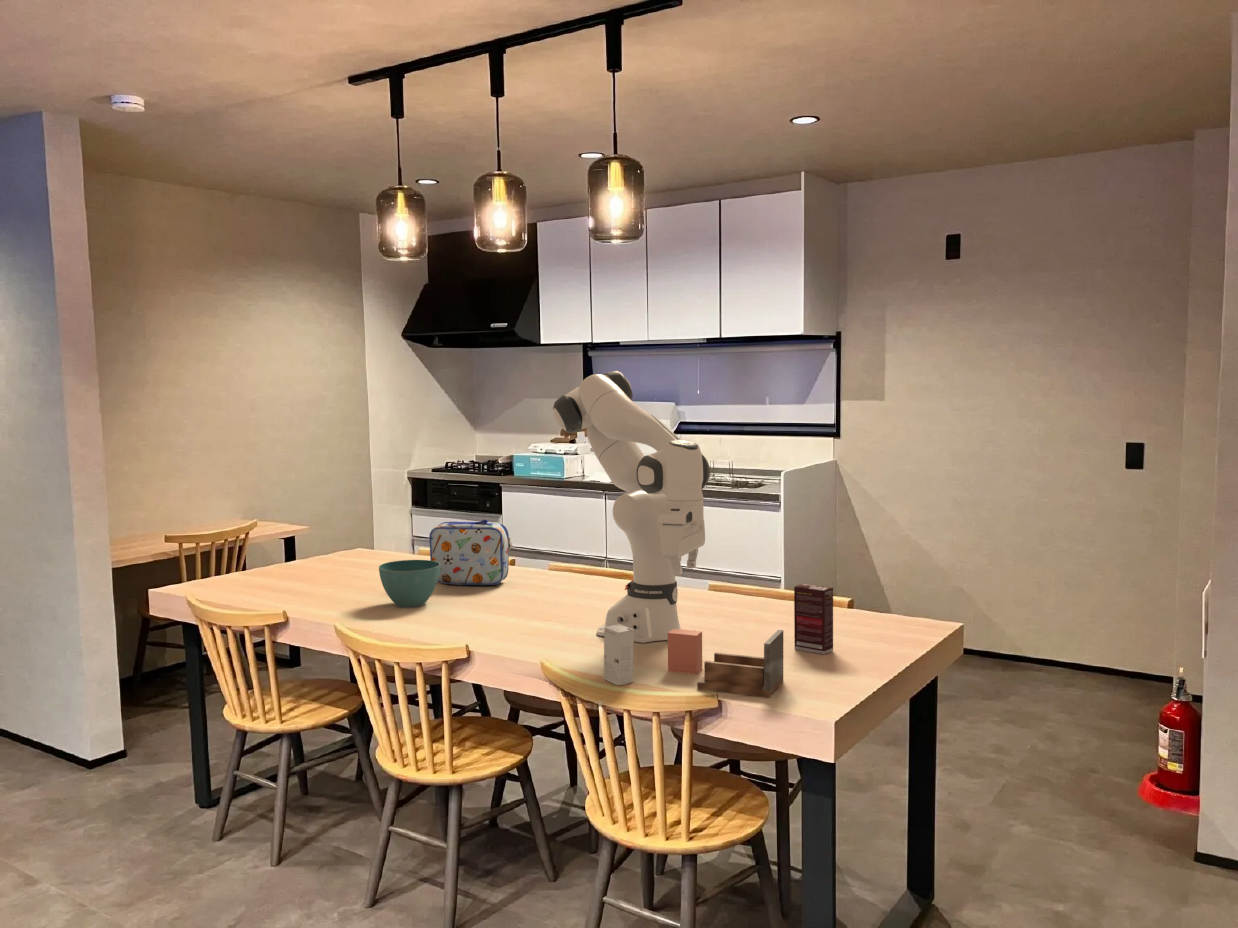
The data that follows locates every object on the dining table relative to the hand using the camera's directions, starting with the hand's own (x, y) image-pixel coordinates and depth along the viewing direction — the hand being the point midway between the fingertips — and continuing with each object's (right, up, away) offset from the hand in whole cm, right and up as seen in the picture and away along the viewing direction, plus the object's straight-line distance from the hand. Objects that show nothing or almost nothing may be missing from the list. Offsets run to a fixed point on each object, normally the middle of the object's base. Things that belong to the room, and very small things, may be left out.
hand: (684, 571), depth 218 cm
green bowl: (-78, -18, +72) cm, 108 cm away
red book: (0, -23, +2) cm, 23 cm away
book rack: (+12, -24, -10) cm, 28 cm away
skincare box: (-15, -24, -6) cm, 29 cm away
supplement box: (+33, -22, +17) cm, 43 cm away
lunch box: (-64, -16, +102) cm, 121 cm away
